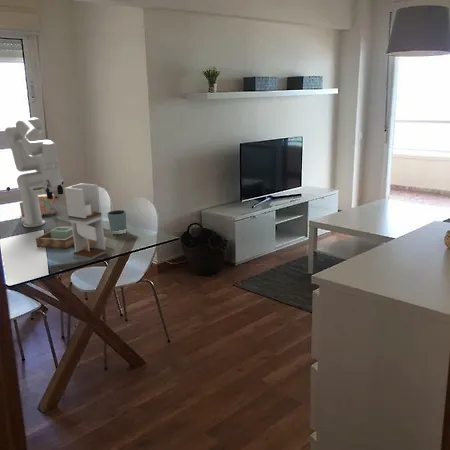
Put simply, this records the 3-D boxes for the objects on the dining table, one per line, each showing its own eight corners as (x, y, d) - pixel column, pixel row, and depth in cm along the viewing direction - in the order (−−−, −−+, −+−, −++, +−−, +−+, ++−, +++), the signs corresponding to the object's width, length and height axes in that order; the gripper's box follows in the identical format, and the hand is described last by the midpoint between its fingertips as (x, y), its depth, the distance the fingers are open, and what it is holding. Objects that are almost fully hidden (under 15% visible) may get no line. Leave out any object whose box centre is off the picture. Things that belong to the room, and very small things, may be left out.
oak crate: (37, 247, 272) (35, 238, 270) (60, 234, 292) (59, 226, 290) (66, 248, 267) (65, 239, 265) (88, 235, 287) (87, 227, 285)
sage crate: (51, 241, 277) (50, 230, 276) (58, 237, 283) (57, 227, 281) (68, 242, 274) (66, 231, 273) (74, 238, 280) (73, 227, 279)
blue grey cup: (123, 235, 284) (121, 214, 281) (106, 235, 286) (104, 214, 283) (130, 230, 294) (128, 209, 290) (114, 229, 296) (111, 209, 292)
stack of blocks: (21, 216, 334) (18, 198, 331) (23, 214, 340) (20, 196, 336) (55, 213, 338) (52, 195, 334) (56, 211, 344) (54, 193, 340)
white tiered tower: (74, 256, 255) (64, 187, 245) (89, 249, 264) (80, 183, 253) (90, 259, 249) (81, 189, 239) (106, 252, 258) (97, 184, 248)
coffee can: (28, 208, 353) (25, 188, 349) (34, 205, 363) (31, 185, 359) (43, 208, 353) (40, 188, 349) (49, 204, 363) (46, 185, 359)
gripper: (54, 162, 282) (58, 192, 288) (35, 168, 267) (39, 200, 272) (66, 162, 280) (70, 192, 286) (47, 169, 265) (52, 201, 270)
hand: (55, 196), depth 279 cm, fingers open, 9 cm apart
